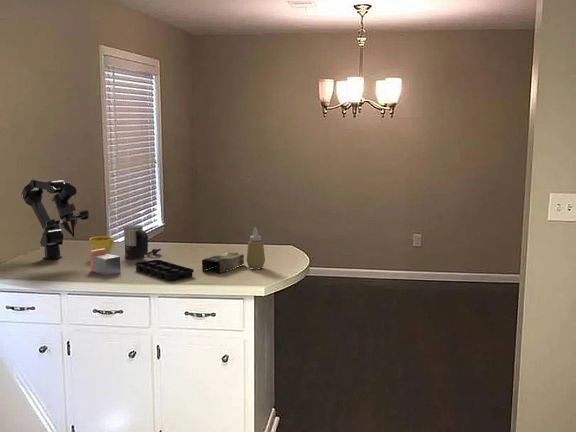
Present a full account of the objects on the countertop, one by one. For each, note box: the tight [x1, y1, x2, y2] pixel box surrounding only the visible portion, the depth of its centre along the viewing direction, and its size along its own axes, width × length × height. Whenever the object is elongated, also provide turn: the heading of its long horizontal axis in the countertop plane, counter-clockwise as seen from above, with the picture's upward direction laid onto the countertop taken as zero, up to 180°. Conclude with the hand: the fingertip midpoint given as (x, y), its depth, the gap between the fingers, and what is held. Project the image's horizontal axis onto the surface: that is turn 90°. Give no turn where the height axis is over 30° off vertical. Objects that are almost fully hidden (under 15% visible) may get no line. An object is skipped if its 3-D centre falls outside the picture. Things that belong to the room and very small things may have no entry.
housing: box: [92, 253, 122, 276], centre depth 289 cm, size 10×7×7 cm
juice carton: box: [201, 252, 245, 274], centre depth 296 cm, size 20×10×6 cm, turn 150°
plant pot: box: [89, 235, 114, 254], centre depth 316 cm, size 10×10×10 cm
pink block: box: [89, 248, 106, 272], centre depth 290 cm, size 10×7×9 cm, turn 49°
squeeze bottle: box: [246, 227, 266, 269], centre depth 294 cm, size 8×8×18 cm
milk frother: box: [123, 224, 162, 260], centre depth 321 cm, size 14×16×15 cm
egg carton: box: [134, 259, 195, 282], centre depth 287 cm, size 18×30×4 cm, turn 55°
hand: (73, 237), depth 303 cm, fingers closed
